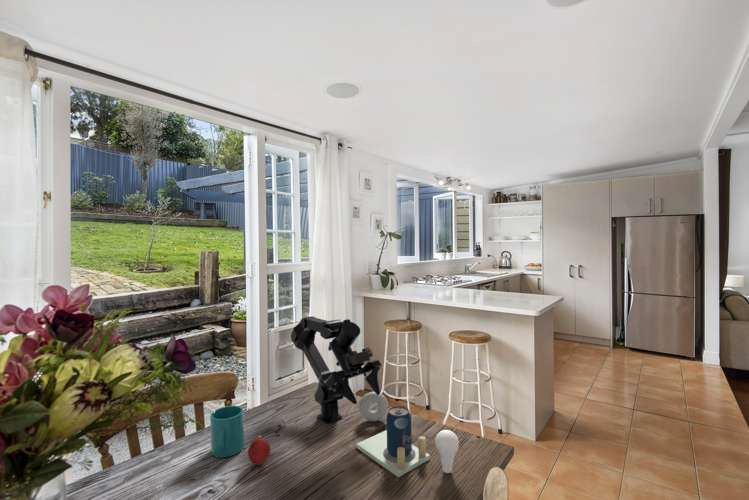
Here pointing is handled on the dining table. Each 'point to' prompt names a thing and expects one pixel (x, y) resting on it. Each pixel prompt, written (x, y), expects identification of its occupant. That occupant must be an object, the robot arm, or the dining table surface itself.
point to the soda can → (399, 430)
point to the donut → (369, 413)
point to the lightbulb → (447, 448)
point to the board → (377, 453)
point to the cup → (227, 431)
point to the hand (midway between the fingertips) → (367, 398)
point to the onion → (259, 451)
